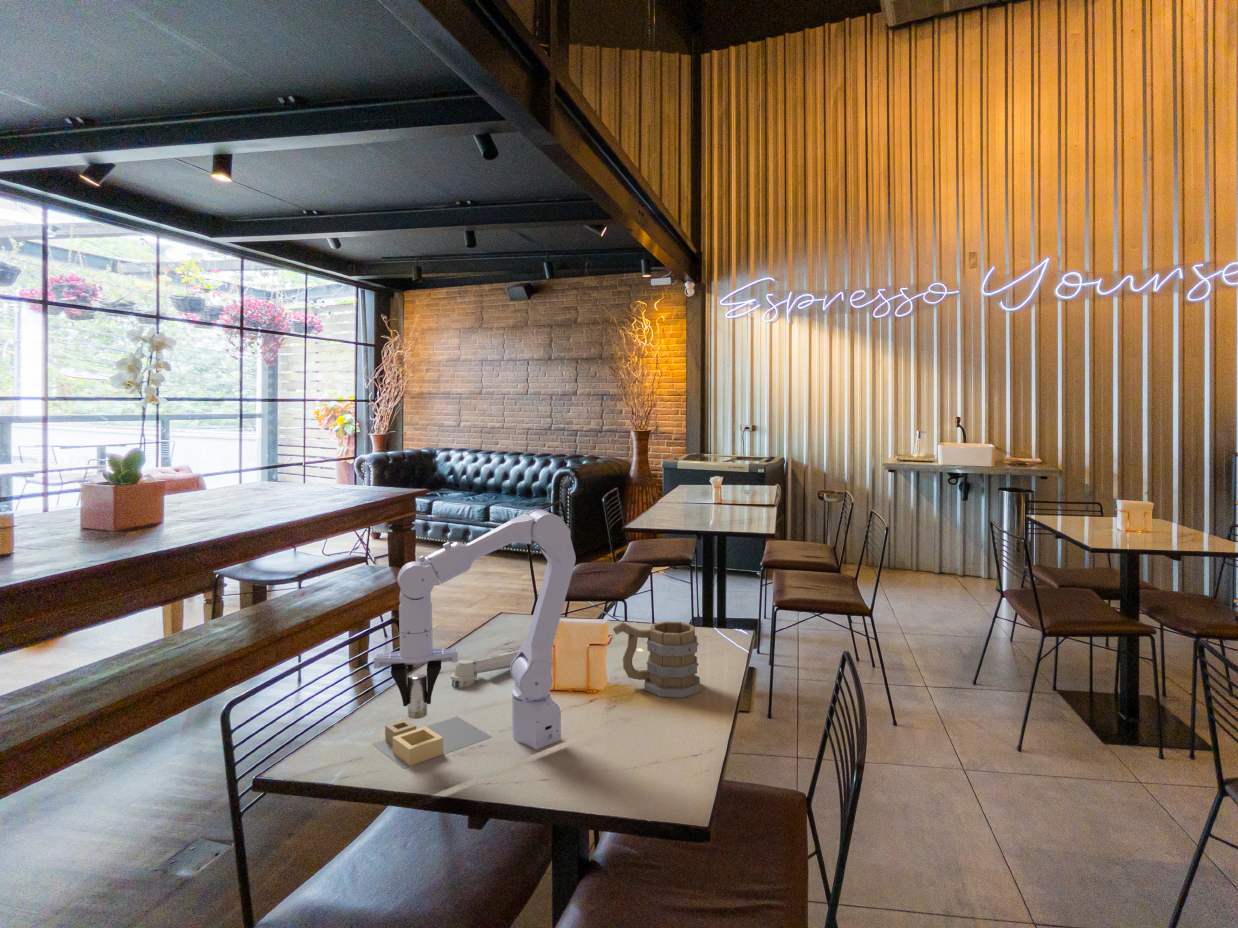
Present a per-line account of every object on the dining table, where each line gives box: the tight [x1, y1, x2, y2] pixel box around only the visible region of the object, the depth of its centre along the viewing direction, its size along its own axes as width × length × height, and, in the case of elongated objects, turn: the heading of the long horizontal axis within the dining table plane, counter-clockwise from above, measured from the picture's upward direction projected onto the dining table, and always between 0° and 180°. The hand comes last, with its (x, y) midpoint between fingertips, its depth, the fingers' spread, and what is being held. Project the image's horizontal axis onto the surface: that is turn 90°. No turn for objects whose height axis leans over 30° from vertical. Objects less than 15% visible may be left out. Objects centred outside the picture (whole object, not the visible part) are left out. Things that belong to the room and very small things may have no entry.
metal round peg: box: [407, 673, 428, 720], centre depth 127 cm, size 3×3×7 cm
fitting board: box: [371, 716, 492, 770], centre depth 132 cm, size 13×18×4 cm
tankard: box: [612, 621, 701, 699], centre depth 161 cm, size 20×13×15 cm, turn 84°
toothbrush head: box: [450, 648, 520, 688], centre depth 169 cm, size 5×7×25 cm
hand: (417, 702), depth 127 cm, fingers closed on metal round peg, 3 cm apart
